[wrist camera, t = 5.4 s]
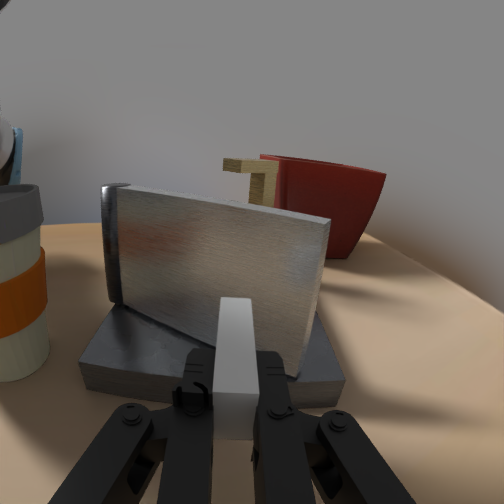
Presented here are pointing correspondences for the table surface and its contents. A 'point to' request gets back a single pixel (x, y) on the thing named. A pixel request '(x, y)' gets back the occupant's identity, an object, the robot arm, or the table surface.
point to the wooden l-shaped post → (256, 178)
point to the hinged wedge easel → (214, 263)
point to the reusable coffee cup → (21, 283)
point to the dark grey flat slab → (174, 358)
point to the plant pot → (329, 197)
